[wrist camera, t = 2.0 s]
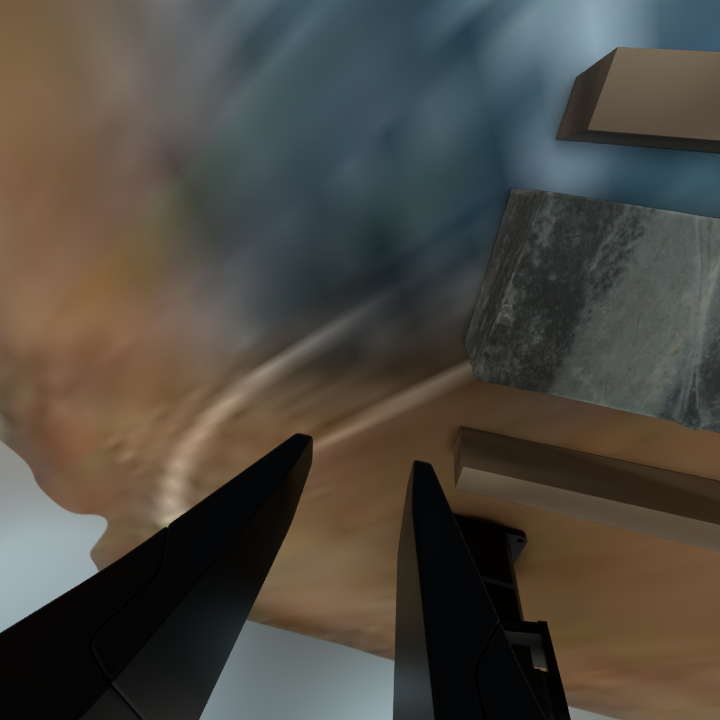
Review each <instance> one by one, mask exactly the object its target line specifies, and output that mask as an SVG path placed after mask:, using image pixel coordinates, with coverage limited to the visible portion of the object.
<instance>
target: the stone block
mask: <svg viewBox="0 0 720 720" xmlns="http://www.w3.org/2000/svg"><path fill="white" fill-rule="evenodd" d="M464 347H465V349H466V351H467V353H468V356H469V359H470V363H471V365H472V368H473V373H474V376H475V378H476V379H478V380H482V381H486V382H490V383H495V384H500V385H506V386H511V387H516V388H520V389H525V390H531V391H536V392H541V393H546V394H552V395H556V396H560V397H564V398H569V399H573V400H578V401H583V402H587V403H592V404H596V405H601V406H605V407H610V408H614V409H619V410H623V411H628V412H633V413H637V414H642V415H647V416H651V417H656V418H661V419H665V420H670V421H674V422H676V423H679V424H681V425H683V426H685V427H688V428H690V429H692V430H699V429H705V430H709V431H713V432H718V433H720V219H718V218H712V217H705V216H699V215H693V214H687V213H681V212H674V211H668V210H660V209H653V208H648V207H642V206H636V205H630V204H623V203H617V202H611V201H605V200H598V199H592V198H586V197H580V196H573V195H567V194H560V193H554V192H548V191H538V190H525V189H513V188H512V189H511V191H510V197H509V200H508V202H507V206H506V209H505V212H504V215H503V218H502V221H501V225H500V228H499V232H498V235H497V238H496V241H495V244H494V248H493V251H492V254H491V257H490V261H489V264H488V267H487V271H486V274H485V277H484V280H483V284H482V286H481V289H480V293H479V296H478V300H477V304H476V306H475V310H474V313H473V316H472V319H471V323H470V326H469V328H468V329H467V331H466V335H465V342H464Z"/></svg>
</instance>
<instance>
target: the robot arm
mask: <svg viewBox="0 0 720 720" xmlns="http://www.w3.org/2000/svg"><path fill="white" fill-rule="evenodd" d="M312 455H313V439H312V437H311V436H309V435H305V434H301V433H297V434H294V435H293V436H292V437H290V438H289V439H287V440H286V441H285V442H283V443H282V444H280V445H279V446H278V447H276V448H275V449H273V450H272V451H271V452H269V453H268V454H266V455H265V456H264V457H262V458H261V459H260V460H258V461H257V462H255V463H254V464H253V465H251V466H250V467H248V468H247V469H246V470H244V471H243V472H241V473H240V474H239V475H237V476H236V477H234V478H233V479H232V480H230V481H229V482H227V483H226V484H225V485H223V486H222V487H220V488H219V489H218V490H216V491H215V492H213V493H212V494H211V495H209V496H208V497H206V498H205V499H204V500H202V501H201V502H199V503H198V504H197V505H195V506H194V507H193V508H191V509H190V510H188V511H187V512H186V513H184V514H183V515H181V516H180V517H179V518H177V519H176V520H174V521H173V522H172V523H170V524H169V526H168V528H167V527H164V528H163V529H162V530H160V531H159V532H157V533H156V534H155V535H153V536H152V537H150V538H149V539H148V540H146V541H145V542H143V543H142V544H140V545H139V546H137V547H136V548H135V549H133V550H132V551H130V552H129V553H127V554H126V555H124V556H123V557H121V558H120V559H119V560H117V561H115V562H114V563H112V564H111V565H109V566H108V567H106V568H104V569H103V570H101V571H100V572H98V573H97V574H95V575H94V576H92V577H90V578H89V579H87V580H86V581H84V582H82V583H81V584H80V585H78V586H76V587H74V588H73V589H71V590H70V591H68V592H66V593H64V594H63V595H61V596H60V597H58V598H56V599H55V600H53V601H51V602H50V603H48V604H47V605H45V606H43V607H42V608H40V609H39V610H37V611H35V612H33V613H32V614H30V615H29V616H27V617H25V618H24V619H22V620H21V621H19V622H17V623H16V624H14V625H12V626H11V627H9V628H7V629H6V630H4V631H3V632H1V633H0V720H199V719H200V716H201V714H202V712H203V710H204V708H205V706H206V704H207V702H208V700H209V697H210V695H211V693H212V691H213V689H214V687H215V685H216V683H217V680H218V678H219V676H220V674H221V672H222V670H223V668H224V666H225V663H226V661H227V659H228V657H229V655H230V653H231V651H232V649H233V647H234V644H235V642H236V640H237V638H238V636H239V634H240V632H241V629H242V627H243V625H244V623H245V621H246V619H247V617H248V615H249V613H250V610H251V608H252V606H253V604H254V602H255V600H256V598H257V596H258V594H259V591H260V589H261V587H262V585H263V583H264V581H265V579H266V577H267V574H268V572H269V570H270V568H271V566H272V564H273V562H274V560H275V557H276V555H277V553H278V551H279V549H280V547H281V545H282V543H283V541H284V538H285V536H286V534H287V532H288V530H289V527H290V525H291V522H292V520H293V517H294V514H295V511H296V509H297V506H298V503H299V500H300V497H301V494H302V491H303V488H304V485H305V482H306V479H307V477H308V474H309V471H310V468H311V464H312ZM526 543H527V537H526V534H524V533H523V532H519V531H515V530H511V529H507V528H503V527H499V526H495V525H491V524H487V523H483V522H479V521H475V520H471V519H467V518H463V517H459V516H455V515H453V513H452V510H451V508H450V506H449V503H448V501H447V499H446V497H445V494H444V492H443V490H442V487H441V485H440V483H439V481H438V478H437V476H436V474H435V471H434V469H433V467H432V465H431V464H430V463H427V462H423V461H418V460H415V461H414V462H413V465H412V469H411V473H410V477H409V481H408V486H407V492H406V498H405V505H404V512H403V519H402V526H401V533H400V540H399V549H398V562H397V595H396V631H395V668H394V701H393V720H571V719H570V715H569V710H568V706H567V702H566V698H565V693H564V689H563V685H562V681H561V677H560V673H559V669H558V665H557V661H556V657H555V653H554V649H553V645H552V641H551V637H550V633H549V629H548V625H547V621H537V622H528V621H524V618H523V612H522V607H521V602H520V596H519V591H518V585H517V580H516V574H515V569H514V562H515V561H516V559H517V558H518V556H519V554H520V553H521V551H522V550H523V548H524V546H525V545H526ZM534 666H535V667H543V668H546V670H547V672H545V671H541V670H540V669H534Z"/></svg>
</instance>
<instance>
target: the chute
mask: <svg viewBox="0 0 720 720" xmlns="http://www.w3.org/2000/svg"><path fill="white" fill-rule="evenodd" d="M556 140H567V141H579V142H590V143H602V144H614V145H625V146H637V147H649V148H660V149H672V150H684V151H695V152H707V153H718V154H720V52H711V51H690V50H669V49H648V48H626V47H617V48H616V49H615V50H613V51H612V52H610V53H609V54H608V55H606V56H605V57H603V58H602V59H601V60H599V61H598V62H597V63H595V64H594V65H592V66H591V67H590V68H588V69H587V70H586V71H584V72H583V73H581V74H580V75H579V76H577V77H576V80H575V83H574V86H573V89H572V92H571V95H570V98H569V101H568V104H567V107H566V110H565V113H564V116H563V119H562V122H561V125H560V128H559V131H558V134H557V137H556ZM454 473H455V489H457V490H461V491H465V492H469V493H474V494H478V495H482V496H486V497H490V498H495V499H499V500H503V501H507V502H511V503H515V504H520V505H524V506H528V507H532V508H536V509H541V510H545V511H549V512H553V513H557V514H562V515H566V516H570V517H574V518H578V519H583V520H587V521H591V522H595V523H599V524H604V525H608V526H612V527H616V528H620V529H625V530H629V531H633V532H637V533H641V534H645V535H650V536H654V537H658V538H662V539H666V540H671V541H675V542H679V543H683V544H687V545H692V546H696V547H700V548H704V549H708V550H713V551H717V552H720V481H715V480H710V479H706V478H701V477H696V476H691V475H687V474H682V473H677V472H672V471H668V470H663V469H658V468H654V467H649V466H644V465H639V464H635V463H630V462H625V461H620V460H616V459H611V458H606V457H602V456H597V455H592V454H587V453H583V452H578V451H573V450H568V449H564V448H559V447H554V446H549V445H545V444H540V443H535V442H531V441H526V440H521V439H516V438H512V437H507V436H502V435H497V434H493V433H488V432H483V431H479V430H474V429H469V428H464V427H460V430H459V433H458V436H457V439H456V442H455V445H454Z"/></svg>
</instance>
